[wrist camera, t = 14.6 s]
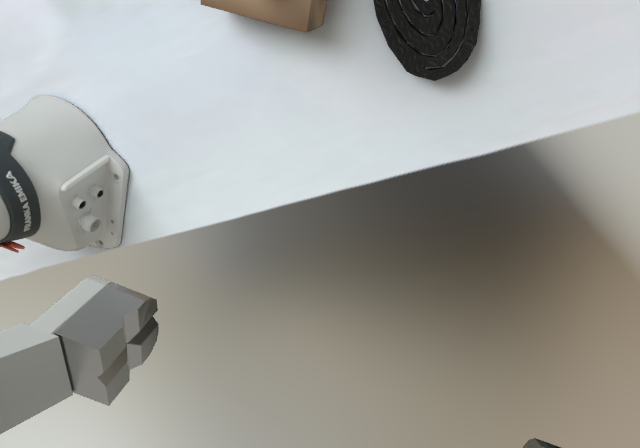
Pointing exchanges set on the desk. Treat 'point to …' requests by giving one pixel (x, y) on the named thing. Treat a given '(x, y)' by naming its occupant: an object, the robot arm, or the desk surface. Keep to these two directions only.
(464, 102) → the desk surface
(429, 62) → the hairbrush
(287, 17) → the lever base
